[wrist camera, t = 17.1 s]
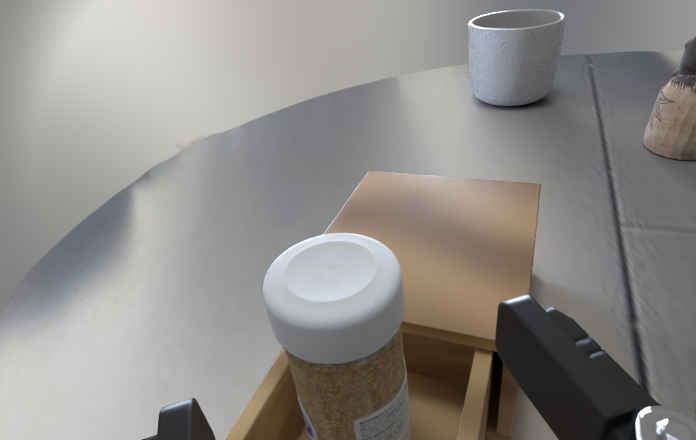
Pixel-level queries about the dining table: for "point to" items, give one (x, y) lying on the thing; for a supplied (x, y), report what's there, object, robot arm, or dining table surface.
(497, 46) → the planter
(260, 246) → the dining table surface
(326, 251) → the sprinkles bottle
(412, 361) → the drawer
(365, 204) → the cabinet
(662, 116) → the figurine
